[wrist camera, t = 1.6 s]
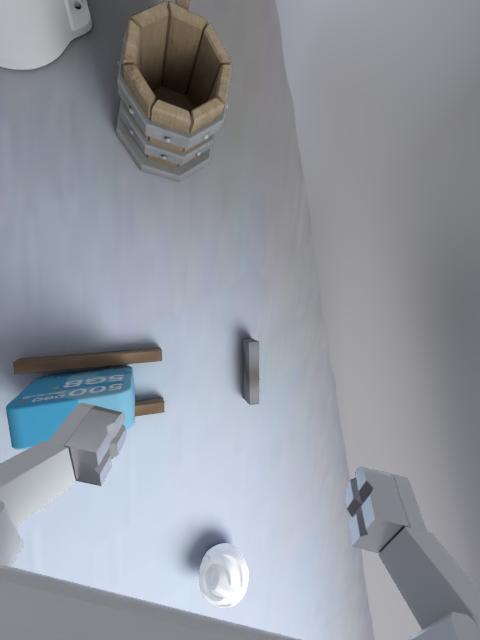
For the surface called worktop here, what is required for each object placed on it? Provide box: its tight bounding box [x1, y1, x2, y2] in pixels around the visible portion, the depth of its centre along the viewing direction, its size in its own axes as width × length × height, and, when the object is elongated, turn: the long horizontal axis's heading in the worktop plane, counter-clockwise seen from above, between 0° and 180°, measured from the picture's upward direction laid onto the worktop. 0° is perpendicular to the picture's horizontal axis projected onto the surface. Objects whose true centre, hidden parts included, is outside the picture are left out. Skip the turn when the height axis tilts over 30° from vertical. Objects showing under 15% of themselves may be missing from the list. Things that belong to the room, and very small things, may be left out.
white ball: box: [199, 543, 249, 608], centre depth 48 cm, size 8×8×8 cm
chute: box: [13, 339, 259, 416], centre depth 44 cm, size 10×33×3 cm, turn 91°
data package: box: [6, 366, 135, 450], centre depth 37 cm, size 12×4×12 cm, turn 93°
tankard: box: [116, 0, 232, 182], centre depth 36 cm, size 20×13×15 cm, turn 170°
